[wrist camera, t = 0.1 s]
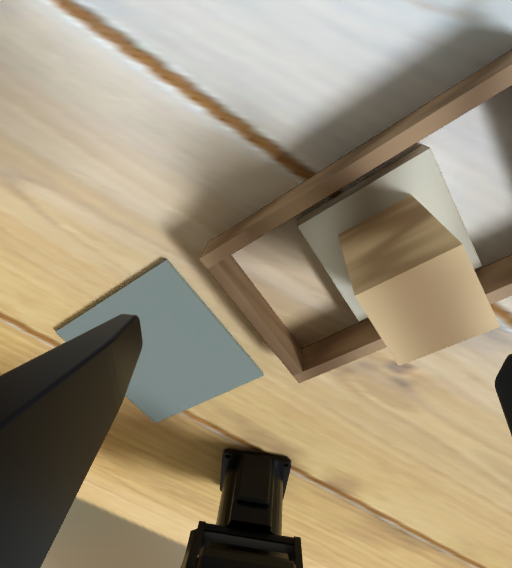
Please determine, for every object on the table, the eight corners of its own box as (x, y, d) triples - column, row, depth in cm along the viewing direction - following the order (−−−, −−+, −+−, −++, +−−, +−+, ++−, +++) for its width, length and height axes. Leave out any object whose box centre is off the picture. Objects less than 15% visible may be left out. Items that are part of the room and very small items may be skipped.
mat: (166, 258, 25) (165, 260, 24) (263, 373, 29) (263, 375, 29) (57, 329, 29) (55, 332, 28) (156, 420, 33) (155, 423, 33)
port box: (528, 38, 17) (563, 31, 15) (585, 233, 21) (619, 251, 19) (207, 242, 24) (199, 258, 21) (298, 359, 28) (298, 383, 26)
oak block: (411, 194, 20) (462, 244, 14) (441, 257, 21) (499, 326, 15) (337, 235, 21) (354, 295, 15) (371, 290, 23) (398, 365, 17)
